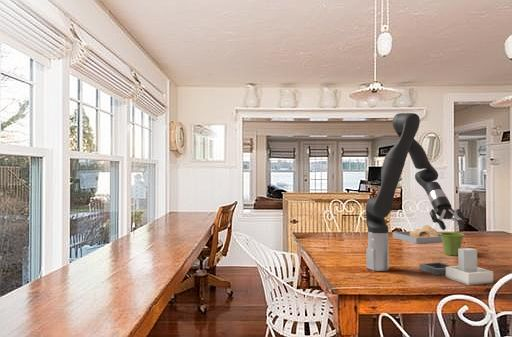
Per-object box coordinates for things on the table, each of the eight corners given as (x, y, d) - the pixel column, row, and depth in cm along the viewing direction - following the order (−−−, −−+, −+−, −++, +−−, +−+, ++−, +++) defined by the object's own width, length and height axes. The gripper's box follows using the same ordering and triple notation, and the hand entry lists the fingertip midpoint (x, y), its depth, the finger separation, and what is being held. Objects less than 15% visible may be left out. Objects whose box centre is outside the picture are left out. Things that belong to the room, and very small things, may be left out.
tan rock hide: (426, 253, 254) (425, 243, 251) (407, 244, 266) (406, 234, 263) (444, 240, 262) (443, 230, 259) (424, 232, 274) (424, 222, 271)
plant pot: (444, 251, 227) (444, 231, 227) (467, 254, 218) (467, 233, 218) (436, 254, 219) (436, 233, 219) (459, 258, 210) (459, 236, 210)
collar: (436, 275, 177) (436, 269, 177) (419, 269, 187) (419, 263, 187) (456, 273, 180) (456, 267, 180) (439, 267, 190) (439, 262, 191)
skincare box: (471, 276, 172) (470, 247, 172) (478, 278, 167) (477, 249, 167) (457, 276, 171) (457, 248, 171) (464, 279, 166) (464, 250, 167)
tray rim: (416, 243, 251) (416, 238, 251) (392, 237, 274) (392, 232, 274) (448, 241, 258) (448, 235, 258) (423, 235, 281) (423, 230, 281)
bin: (468, 285, 161) (468, 273, 161) (445, 277, 173) (445, 266, 173) (493, 282, 165) (493, 271, 165) (469, 274, 177) (469, 264, 177)
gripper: (427, 196, 187) (441, 224, 176) (456, 195, 189) (472, 223, 177) (422, 206, 193) (435, 234, 181) (450, 206, 194) (465, 233, 183)
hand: (453, 228), depth 179 cm, fingers open, 8 cm apart
